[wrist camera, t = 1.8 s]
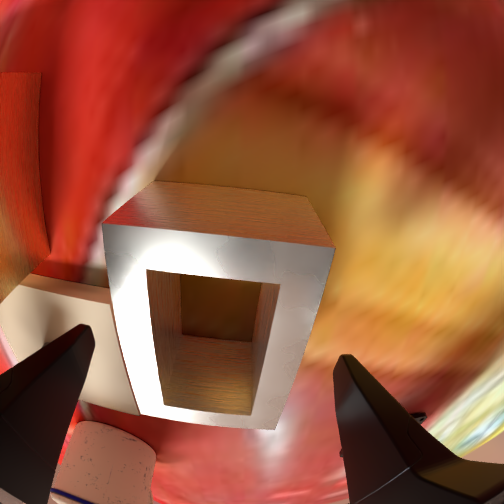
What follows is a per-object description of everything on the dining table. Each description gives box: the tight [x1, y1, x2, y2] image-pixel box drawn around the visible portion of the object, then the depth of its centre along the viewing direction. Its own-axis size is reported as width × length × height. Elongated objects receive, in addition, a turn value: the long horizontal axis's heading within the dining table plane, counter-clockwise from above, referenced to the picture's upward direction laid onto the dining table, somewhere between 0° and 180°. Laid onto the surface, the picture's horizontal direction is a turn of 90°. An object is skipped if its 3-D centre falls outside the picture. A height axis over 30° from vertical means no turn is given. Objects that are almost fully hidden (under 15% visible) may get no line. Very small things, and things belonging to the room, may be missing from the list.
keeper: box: [0, 273, 141, 416], centre depth 13 cm, size 10×10×5 cm
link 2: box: [102, 181, 335, 430], centre depth 11 cm, size 9×6×4 cm, turn 173°
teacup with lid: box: [50, 421, 156, 504], centre depth 17 cm, size 12×9×12 cm
